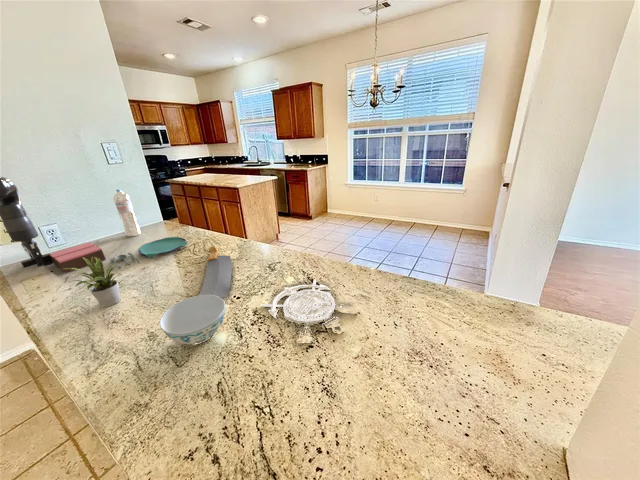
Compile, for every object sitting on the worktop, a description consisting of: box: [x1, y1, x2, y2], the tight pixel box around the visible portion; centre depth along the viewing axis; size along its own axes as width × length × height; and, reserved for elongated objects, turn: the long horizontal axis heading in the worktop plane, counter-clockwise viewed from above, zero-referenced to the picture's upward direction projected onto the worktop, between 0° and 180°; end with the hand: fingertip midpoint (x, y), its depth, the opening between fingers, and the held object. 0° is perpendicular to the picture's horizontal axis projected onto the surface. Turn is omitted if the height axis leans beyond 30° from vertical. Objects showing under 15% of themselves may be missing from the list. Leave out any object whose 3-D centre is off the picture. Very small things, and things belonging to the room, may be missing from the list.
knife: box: [20, 253, 54, 269], centre depth 117 cm, size 22×2×4 cm, turn 146°
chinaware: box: [159, 294, 226, 345], centre depth 67 cm, size 15×15×8 cm
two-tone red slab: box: [48, 242, 107, 275], centre depth 113 cm, size 14×14×6 cm
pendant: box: [259, 278, 349, 333], centre depth 77 cm, size 21×28×1 cm
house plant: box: [65, 256, 123, 308], centre depth 82 cm, size 14×14×16 cm
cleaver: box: [197, 245, 233, 299], centre depth 100 cm, size 4×10×40 cm
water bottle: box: [112, 188, 142, 238], centre depth 139 cm, size 7×7×25 cm
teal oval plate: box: [109, 236, 188, 270], centre depth 120 cm, size 20×30×2 cm, turn 138°
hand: (39, 263), depth 112 cm, fingers open, 8 cm apart
